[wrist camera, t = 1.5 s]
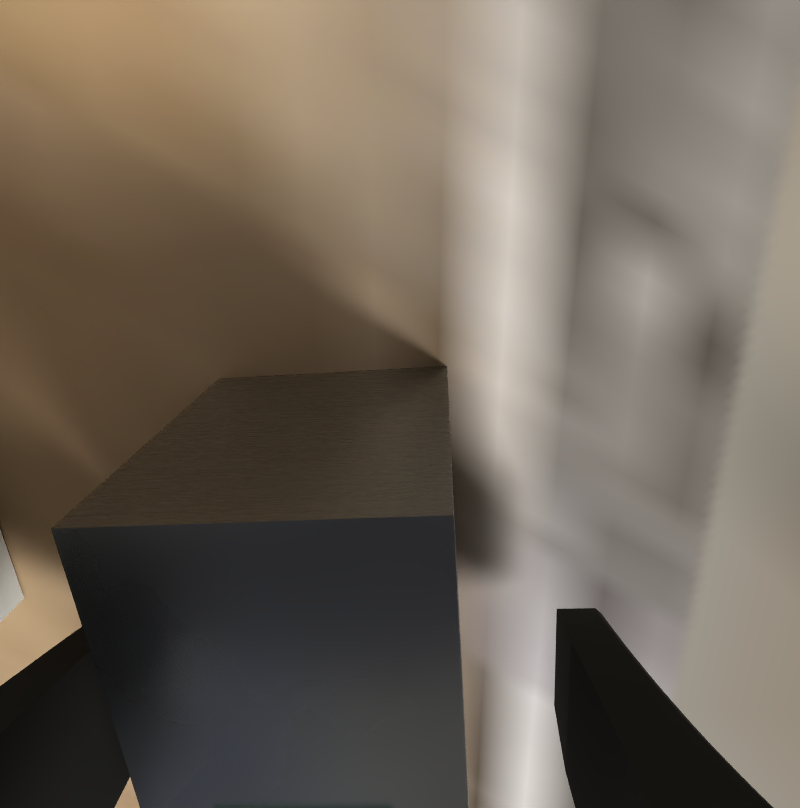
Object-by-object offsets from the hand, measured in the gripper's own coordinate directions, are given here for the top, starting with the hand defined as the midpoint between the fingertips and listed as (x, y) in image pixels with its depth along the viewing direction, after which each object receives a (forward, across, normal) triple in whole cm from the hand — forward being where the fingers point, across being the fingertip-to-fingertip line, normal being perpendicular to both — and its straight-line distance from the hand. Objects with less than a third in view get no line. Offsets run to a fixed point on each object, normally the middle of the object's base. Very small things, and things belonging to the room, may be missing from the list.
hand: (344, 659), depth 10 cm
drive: (+2, 0, 0) cm, 2 cm away
